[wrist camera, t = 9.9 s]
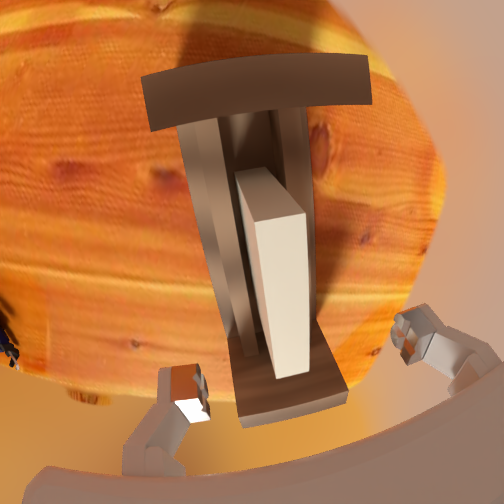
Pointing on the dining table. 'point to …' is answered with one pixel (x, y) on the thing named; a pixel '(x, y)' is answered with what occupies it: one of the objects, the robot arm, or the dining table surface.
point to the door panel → (277, 267)
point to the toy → (8, 349)
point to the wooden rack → (227, 204)
